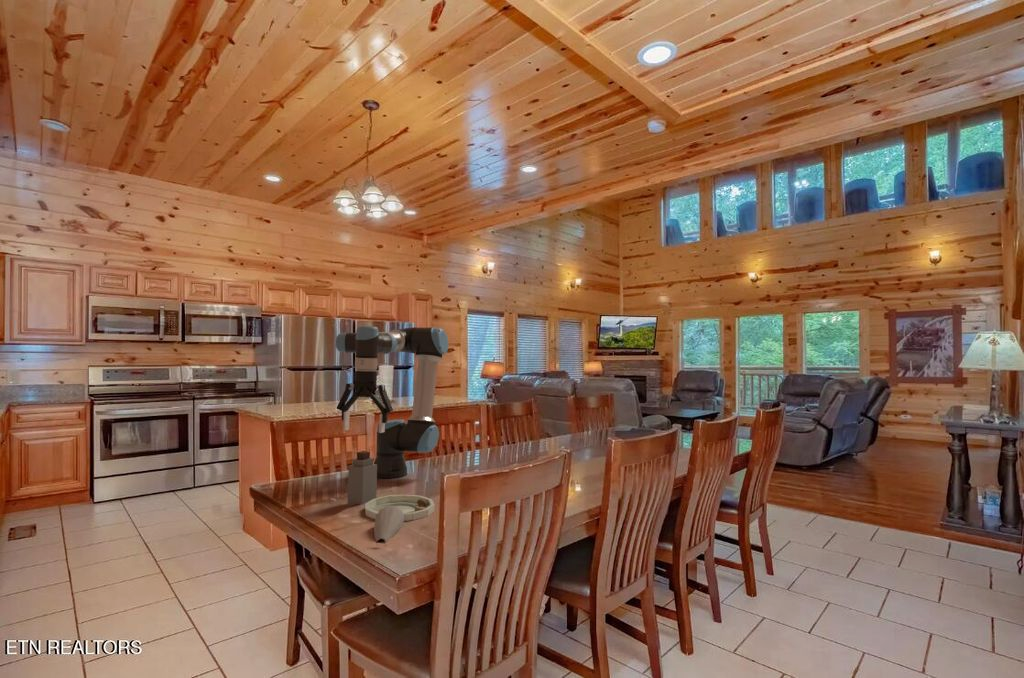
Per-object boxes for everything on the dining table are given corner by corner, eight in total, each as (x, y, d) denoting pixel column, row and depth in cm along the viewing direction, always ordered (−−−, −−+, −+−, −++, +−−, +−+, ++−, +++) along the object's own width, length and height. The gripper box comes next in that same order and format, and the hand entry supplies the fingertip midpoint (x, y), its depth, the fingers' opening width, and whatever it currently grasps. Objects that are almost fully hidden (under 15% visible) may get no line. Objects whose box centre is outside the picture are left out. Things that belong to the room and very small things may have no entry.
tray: (384, 501, 182) (384, 492, 183) (442, 507, 178) (443, 497, 178) (352, 521, 161) (352, 510, 161) (417, 528, 156) (418, 517, 156)
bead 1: (419, 504, 176) (419, 498, 176) (427, 505, 175) (427, 499, 175) (416, 507, 173) (416, 501, 173) (423, 507, 173) (424, 501, 173)
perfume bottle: (347, 505, 178) (349, 452, 178) (361, 500, 183) (363, 449, 184) (362, 508, 174) (363, 454, 175) (376, 503, 180) (377, 451, 181)
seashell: (390, 559, 150) (401, 510, 161) (406, 547, 143) (416, 497, 153) (362, 552, 147) (375, 502, 158) (377, 539, 140) (389, 488, 150)
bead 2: (416, 512, 167) (417, 506, 167) (425, 513, 167) (425, 507, 167) (413, 515, 165) (413, 508, 165) (421, 516, 164) (421, 509, 164)
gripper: (327, 369, 179) (325, 430, 178) (394, 371, 174) (392, 435, 173) (339, 368, 186) (337, 427, 186) (403, 371, 181) (401, 431, 180)
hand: (363, 431), depth 179 cm, fingers open, 13 cm apart
